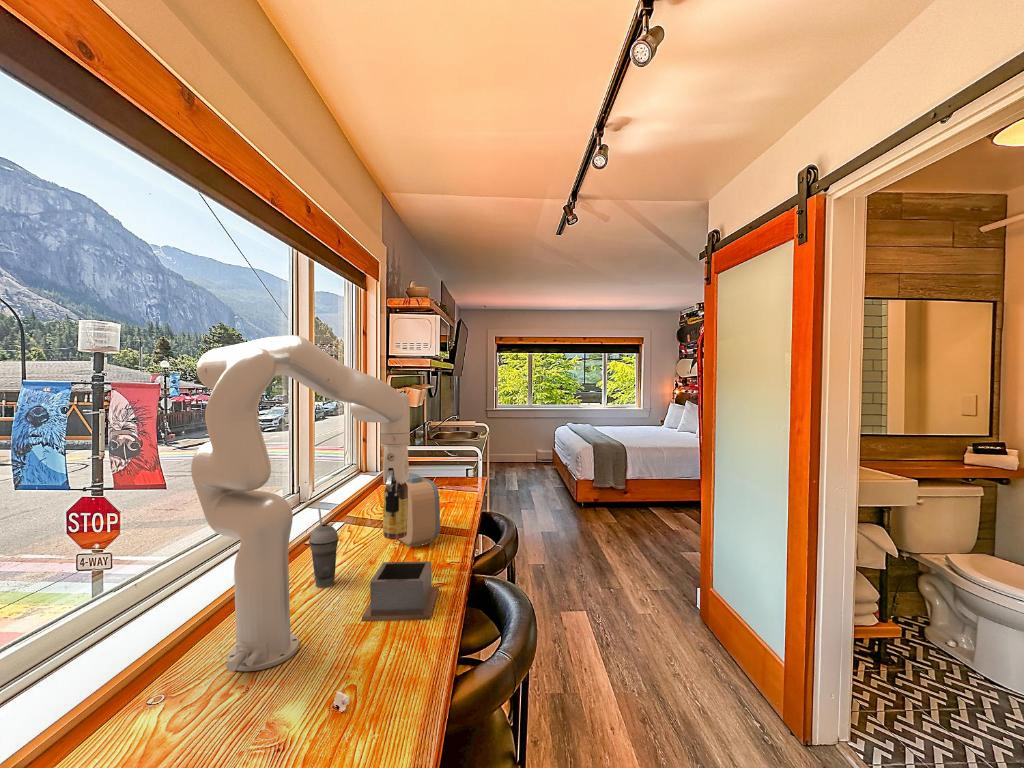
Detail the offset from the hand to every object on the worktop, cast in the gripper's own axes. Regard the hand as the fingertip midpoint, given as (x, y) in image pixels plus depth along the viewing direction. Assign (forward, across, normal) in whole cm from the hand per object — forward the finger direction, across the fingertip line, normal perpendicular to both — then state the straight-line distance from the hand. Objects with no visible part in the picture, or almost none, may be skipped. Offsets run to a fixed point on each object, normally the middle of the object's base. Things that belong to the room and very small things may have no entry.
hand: (395, 507), depth 132 cm
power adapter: (+21, -49, -3) cm, 53 cm away
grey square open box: (+20, -13, -5) cm, 24 cm away
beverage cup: (+20, 0, +18) cm, 27 cm away
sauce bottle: (+8, 0, 0) cm, 8 cm away
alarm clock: (+19, +34, +1) cm, 39 cm away
